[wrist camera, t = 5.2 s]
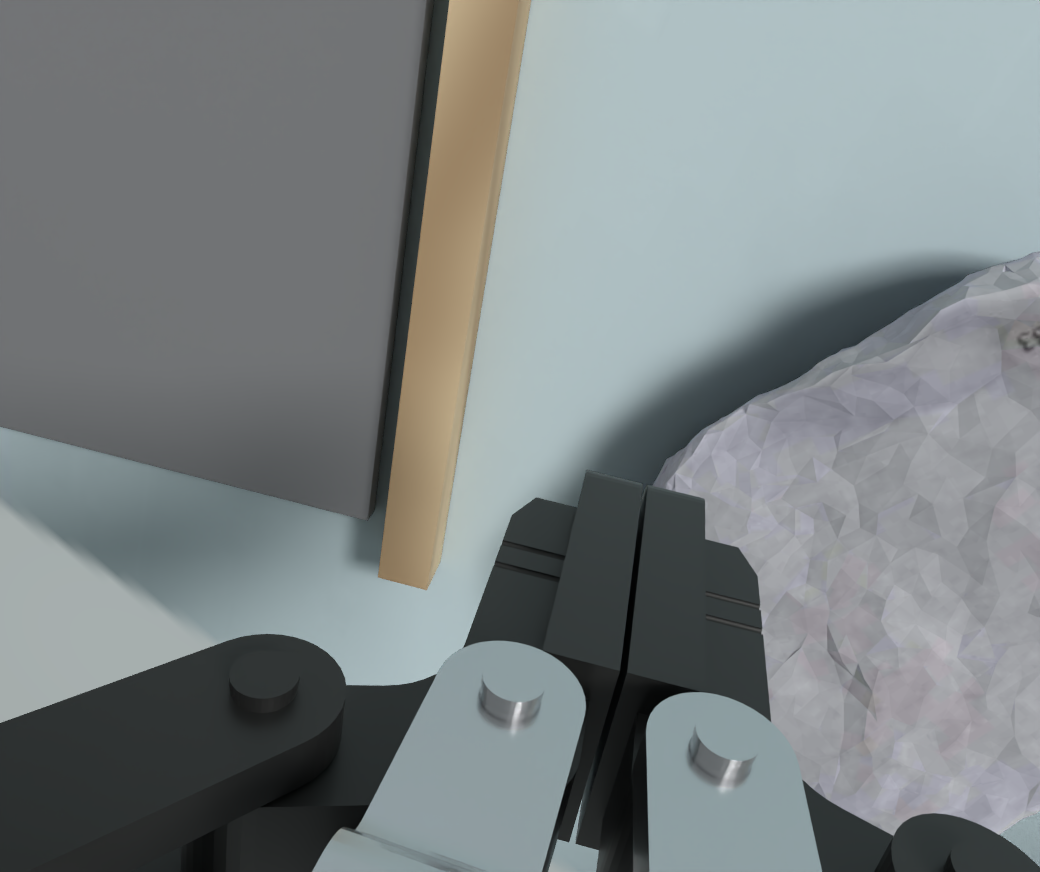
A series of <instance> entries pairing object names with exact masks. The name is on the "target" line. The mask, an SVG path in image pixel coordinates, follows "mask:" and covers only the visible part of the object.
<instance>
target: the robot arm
mask: <svg viewBox="0 0 1040 872" xmlns="http://www.w3.org/2000/svg"><path fill="white" fill-rule="evenodd" d="M642 487H643V484H642V483H638V482H634V481H630V480H626V479H622V478H618V477H614V476H610V475H605V474H601V473H597V472H593V471H589V470H586V474H585V479H584V483H583V487H582V491H581V495H580V499H579V503H578V507H577V508H576V507H572V506H568V505H564V504H560V503H556V502H552V501H548V500H544V499H540V498H535V499H534V500H532V501H531V502H530V503H528V504H527V505H525V506H524V507H523V508H521V509H520V510H518V511H517V512H516V513H514V514H513V515H512V517H511V520H510V522H509V525H508V528H507V530H506V533H505V536H504V539H503V542H502V545H501V547H500V550H499V552H498V555H497V558H496V561H495V565H494V566H493V569H492V571H491V574H490V577H489V580H488V582H487V585H486V588H485V591H484V593H483V596H482V599H481V602H480V604H479V607H478V610H477V612H476V615H475V618H474V621H473V623H472V626H471V629H470V632H469V634H468V637H467V640H466V643H465V645H464V647H463V648H462V649H460V650H458V651H457V652H455V653H454V654H452V655H451V656H450V657H449V658H448V659H447V660H446V661H445V662H444V663H443V665H442V666H441V668H440V669H439V671H438V673H437V674H436V675H433V676H431V677H429V678H426V679H424V680H420V681H417V682H413V683H408V684H402V685H389V686H360V685H346V683H345V677H344V675H343V673H342V670H341V668H340V667H339V665H338V664H337V663H336V661H335V660H334V659H333V658H332V657H331V656H330V655H329V654H328V653H327V652H325V651H324V650H322V649H321V648H319V647H318V646H316V645H314V644H312V643H310V642H307V641H305V640H302V639H298V638H295V637H290V636H285V635H275V634H260V635H250V636H244V637H239V638H236V639H233V640H229V641H226V642H223V643H221V644H218V645H215V646H212V647H210V648H207V649H204V650H201V651H199V652H196V653H193V654H190V655H187V656H185V657H182V658H179V659H177V660H174V661H171V662H168V663H166V664H163V665H160V666H157V667H154V668H151V669H149V670H146V671H143V672H140V673H138V674H135V675H132V676H129V677H127V678H124V679H121V680H118V681H116V682H113V683H110V684H107V685H104V686H102V687H99V688H96V689H93V690H91V691H88V692H85V693H82V694H80V695H77V696H74V697H71V698H69V699H66V700H63V701H60V702H57V703H55V704H52V705H50V706H47V707H44V708H41V709H38V710H35V711H33V712H30V713H27V714H24V715H22V716H19V717H16V718H13V719H11V720H8V721H5V722H2V723H0V872H548V869H549V866H550V862H551V859H552V856H553V852H554V849H555V845H556V842H557V839H559V840H563V841H566V842H569V841H570V837H571V834H572V830H573V827H574V824H575V820H576V817H577V814H578V810H579V807H580V804H581V810H580V817H579V823H578V830H577V837H576V843H575V844H579V845H582V846H586V847H589V848H593V849H597V850H599V854H598V863H597V871H596V872H1040V867H1039V866H1038V865H1037V864H1036V863H1035V862H1034V861H1033V860H1031V859H1030V858H1029V857H1028V856H1027V855H1026V854H1025V853H1023V852H1022V851H1021V850H1020V849H1019V848H1017V847H1016V846H1015V845H1013V844H1012V843H1011V842H1009V841H1008V840H1006V839H1005V838H1003V837H1002V836H1000V835H998V834H997V833H995V832H993V831H992V830H990V829H988V828H986V827H984V826H982V825H979V824H977V823H975V822H972V821H970V820H967V819H964V818H961V817H957V816H952V815H948V814H938V813H930V814H921V815H917V816H914V817H911V818H910V819H908V820H906V821H905V822H903V823H902V824H901V825H900V827H899V828H898V829H897V830H896V832H895V834H894V836H893V835H891V834H889V833H887V832H885V831H884V830H882V829H880V828H878V827H876V826H874V825H872V824H870V823H868V822H867V821H865V820H863V819H861V818H859V817H857V816H855V815H853V814H852V813H850V812H848V811H846V810H844V809H842V808H841V807H839V806H837V805H835V804H834V803H832V802H830V801H829V800H827V799H826V798H824V797H823V796H822V795H820V794H819V793H818V792H816V791H815V790H814V789H813V788H811V787H810V786H809V785H808V784H807V783H806V782H805V781H803V780H802V777H801V772H800V767H799V763H798V760H797V757H796V754H795V752H794V750H793V749H792V747H791V745H790V743H789V742H788V740H787V739H786V738H785V736H784V735H783V734H782V733H781V732H780V730H779V729H778V728H777V727H776V726H775V725H774V724H773V723H771V714H770V703H769V692H768V681H767V671H766V660H765V649H764V639H763V634H761V633H762V629H763V628H762V617H761V610H759V608H760V596H759V585H758V576H757V574H756V573H755V571H754V570H753V568H752V567H751V565H750V564H749V562H748V561H747V559H746V558H745V557H744V555H743V554H742V552H741V551H740V549H739V548H738V547H735V546H731V545H727V544H723V543H719V542H715V541H711V540H706V539H705V499H704V498H701V497H697V496H692V495H688V494H684V493H680V492H676V491H672V490H668V489H664V488H660V487H656V486H651V485H647V486H646V488H645V491H644V494H643V497H642V500H641V495H642ZM640 503H641V504H640ZM581 800H582V803H581Z"/></svg>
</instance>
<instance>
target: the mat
mask: <svg viewBox="0 0 1040 872" xmlns="http://www.w3.org/2000/svg"><path fill="white" fill-rule="evenodd" d="M433 4H434V0H0V426H1V427H5V428H8V429H12V430H16V431H20V432H24V433H28V434H32V435H36V436H40V437H44V438H47V439H51V440H55V441H59V442H63V443H67V444H71V445H75V446H79V447H82V448H86V449H90V450H94V451H98V452H102V453H106V454H110V455H114V456H118V457H121V458H125V459H129V460H133V461H137V462H141V463H145V464H149V465H153V466H156V467H160V468H164V469H168V470H172V471H176V472H180V473H184V474H188V475H192V476H195V477H199V478H203V479H207V480H211V481H215V482H219V483H223V484H227V485H230V486H234V487H238V488H242V489H246V490H250V491H254V492H258V493H262V494H265V495H269V496H273V497H277V498H281V499H285V500H289V501H293V502H297V503H301V504H304V505H308V506H312V507H316V508H320V509H324V510H328V511H332V512H336V513H339V514H343V515H347V516H351V517H355V518H359V519H363V520H367V521H368V519H369V518H370V516H371V515H372V513H373V512H374V510H375V502H376V493H377V484H378V476H379V467H380V459H381V450H382V442H383V433H384V424H385V416H386V407H387V399H388V390H389V381H390V373H391V364H392V356H393V347H394V339H395V330H396V321H397V313H398V304H399V296H400V287H401V279H402V270H403V261H404V253H405V244H406V236H407V227H408V218H409V210H410V201H411V193H412V184H413V176H414V167H415V158H416V150H417V141H418V133H419V124H420V116H421V107H422V98H423V90H424V81H425V73H426V64H427V55H428V47H429V38H430V30H431V21H432V13H433Z"/></svg>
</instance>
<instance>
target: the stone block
mask: <svg viewBox="0 0 1040 872" xmlns="http://www.w3.org/2000/svg"><path fill="white" fill-rule="evenodd" d="M652 486H656V487H660V488H664V489H668V490H672V491H676V492H680V493H684V494H688V495H692V496H697V497H701V498H704V499H705V539H706V540H711V541H715V542H719V543H723V544H727V545H731V546H735V547H738V548H739V549H740V551H741V552H742V554H743V555H744V557H745V558H746V559H747V561H748V562H749V564H750V565H751V567H752V568H753V570H754V571H755V573H756V574H757V576H758V585H759V596H760V608H759V610H761V617H762V628H763V629H762V633H761V634H763V639H764V649H765V660H766V671H767V681H768V692H769V703H770V714H771V723H773V724H774V725H775V726H776V727H777V728H778V729H779V730H780V732H781V733H782V734H783V735H784V736H785V738H786V739H787V740H788V742H789V743H790V745H791V747H792V749H793V750H794V752H795V754H796V757H797V760H798V763H799V767H800V772H801V777H802V780H803V781H805V782H806V783H807V784H808V785H809V786H810V787H811V788H813V789H814V790H815V791H816V792H818V793H819V794H820V795H822V796H823V797H824V798H826V799H827V800H829V801H830V802H832V803H834V804H835V805H837V806H839V807H841V808H842V809H844V810H846V811H848V812H850V813H852V814H853V815H855V816H857V817H859V818H861V819H863V820H865V821H867V822H868V823H870V824H872V825H874V826H876V827H878V828H880V829H882V830H884V831H885V832H887V833H889V834H891V835H893V836H894V834H895V832H896V830H897V829H898V828H899V827H900V825H901V824H902V823H903V822H905V821H906V820H908V819H910V818H911V817H914V816H917V815H921V814H930V813H938V814H948V815H952V816H957V817H961V818H964V819H967V820H970V821H972V822H975V823H977V824H979V825H982V826H984V827H986V828H988V829H990V830H992V831H993V832H995V833H997V834H998V835H1000V834H1001V833H1003V832H1004V831H1006V830H1007V829H1008V828H1010V827H1011V826H1013V825H1014V824H1016V823H1017V822H1019V821H1020V820H1022V819H1024V818H1026V817H1029V816H1031V815H1034V814H1036V813H1038V812H1039V811H1040V252H1035V253H1031V254H1029V255H1027V256H1025V257H1023V258H1021V259H1018V260H1014V261H1010V262H1007V263H1003V264H999V265H996V266H992V267H989V268H986V269H984V270H981V271H978V272H975V273H972V274H969V275H967V276H966V277H965V278H964V279H963V280H962V281H961V282H959V283H957V284H956V285H954V286H952V287H950V288H948V289H947V290H945V291H943V292H941V293H939V294H938V295H936V296H934V297H933V298H931V299H930V300H928V301H927V302H925V303H923V304H921V305H919V306H917V307H915V308H913V309H911V310H909V311H908V312H906V313H905V314H904V315H902V316H901V317H900V318H898V319H897V320H895V321H894V322H892V323H890V324H889V325H887V326H885V327H884V328H882V329H880V330H879V331H877V332H875V333H874V334H872V335H870V336H869V337H867V338H866V339H865V340H863V341H862V342H860V343H859V344H858V345H856V346H852V347H848V348H844V349H841V350H840V351H839V352H838V353H837V354H834V355H831V356H829V357H827V358H826V359H824V360H822V361H821V362H819V363H817V364H816V365H815V366H814V367H813V368H812V369H811V370H810V371H808V372H806V373H805V374H803V375H802V376H800V377H799V378H797V379H796V380H794V381H792V382H790V383H788V384H786V385H784V386H781V387H779V388H776V389H774V390H771V391H769V392H766V393H763V394H760V395H757V396H756V397H754V398H753V399H751V400H750V401H748V402H747V403H745V404H744V405H742V406H741V407H739V408H738V409H736V410H735V411H733V412H732V413H730V414H729V415H727V416H725V417H722V418H720V420H718V421H717V422H715V423H713V424H711V425H709V426H708V427H706V428H704V429H703V430H701V431H700V432H699V433H698V434H697V435H696V436H695V437H694V438H693V439H692V440H691V441H690V442H689V443H688V445H687V446H686V447H685V448H683V449H681V450H680V451H678V452H677V453H676V454H675V455H674V456H671V457H669V458H667V459H666V461H665V463H664V465H663V467H662V469H661V471H660V473H659V475H658V476H657V478H656V480H655V482H654V483H653V485H652Z"/></svg>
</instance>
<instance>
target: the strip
mask: <svg viewBox="0 0 1040 872" xmlns="http://www.w3.org/2000/svg"><path fill="white" fill-rule="evenodd" d="M530 4H531V0H449V8H448V16H447V24H446V32H445V40H444V48H443V56H442V64H441V72H440V80H439V88H438V97H437V105H436V113H435V121H434V129H433V137H432V145H431V153H430V161H429V169H428V177H427V185H426V194H425V202H424V210H423V218H422V226H421V234H420V242H419V250H418V258H417V266H416V274H415V282H414V290H413V299H412V307H411V315H410V323H409V331H408V339H407V347H406V355H405V363H404V371H403V379H402V387H401V396H400V404H399V412H398V420H397V428H396V436H395V444H394V452H393V460H392V468H391V476H390V484H389V492H388V501H387V509H386V517H385V525H384V533H383V541H382V549H381V557H380V565H379V573H378V577H379V578H382V579H386V580H390V581H394V582H398V583H402V584H405V585H409V586H413V587H417V588H421V589H424V590H427V589H428V587H429V584H430V582H431V580H432V578H433V576H434V574H435V572H436V570H437V568H438V566H439V563H440V560H441V554H442V548H443V542H444V536H445V529H446V523H447V517H448V511H449V505H450V499H451V492H452V486H453V480H454V474H455V468H456V461H457V455H458V449H459V443H460V437H461V431H462V424H463V418H464V412H465V406H466V400H467V393H468V387H469V381H470V375H471V369H472V363H473V356H474V350H475V344H476V338H477V332H478V326H479V319H480V313H481V307H482V301H483V295H484V288H485V282H486V276H487V270H488V264H489V258H490V251H491V245H492V239H493V233H494V227H495V220H496V214H497V208H498V202H499V196H500V190H501V183H502V177H503V171H504V165H505V159H506V153H507V146H508V140H509V134H510V128H511V122H512V115H513V109H514V103H515V97H516V91H517V85H518V78H519V72H520V66H521V60H522V54H523V47H524V41H525V35H526V29H527V23H528V17H529V10H530Z"/></svg>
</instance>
